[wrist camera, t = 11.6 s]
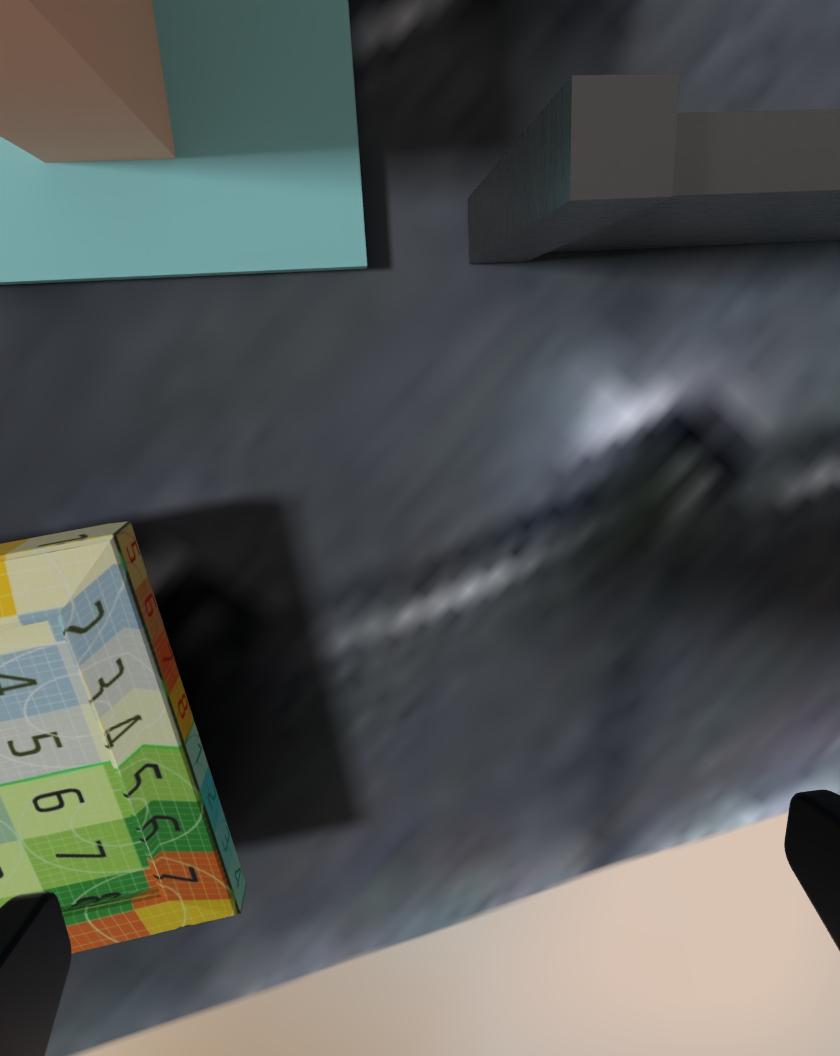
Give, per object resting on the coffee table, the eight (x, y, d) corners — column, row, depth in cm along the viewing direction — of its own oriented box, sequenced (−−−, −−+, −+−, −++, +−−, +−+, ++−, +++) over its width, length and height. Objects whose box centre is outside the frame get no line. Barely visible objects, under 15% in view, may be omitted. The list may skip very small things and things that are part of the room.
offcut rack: (901, 183, 18) (1322, 63, 10) (891, 245, 18) (1287, 174, 10) (467, 198, 16) (572, 75, 9) (469, 263, 17) (569, 199, 9)
